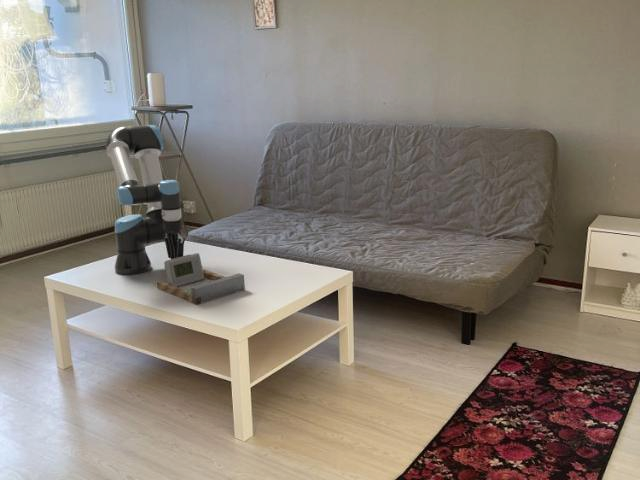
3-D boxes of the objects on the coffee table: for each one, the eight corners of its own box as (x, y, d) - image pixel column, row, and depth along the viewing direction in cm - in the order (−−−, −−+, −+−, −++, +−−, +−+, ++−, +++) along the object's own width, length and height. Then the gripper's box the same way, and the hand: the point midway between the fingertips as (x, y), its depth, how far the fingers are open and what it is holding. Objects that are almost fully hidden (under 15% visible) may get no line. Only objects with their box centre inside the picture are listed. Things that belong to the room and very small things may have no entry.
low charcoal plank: (192, 302, 233) (190, 287, 231) (240, 287, 247) (239, 273, 246) (196, 304, 231) (195, 289, 229) (244, 289, 245) (244, 274, 244)
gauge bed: (156, 287, 250) (156, 281, 250) (203, 274, 265) (203, 268, 264) (196, 304, 231) (196, 297, 230) (244, 289, 245) (244, 283, 245)
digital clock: (168, 289, 248) (168, 264, 244) (161, 281, 255) (160, 256, 251) (207, 282, 256) (207, 258, 252) (199, 274, 263) (198, 250, 260)
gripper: (155, 218, 255) (160, 274, 261) (172, 223, 246) (177, 281, 251) (171, 215, 260) (176, 270, 266) (189, 219, 251) (193, 276, 256)
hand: (177, 275), depth 259 cm, fingers closed
